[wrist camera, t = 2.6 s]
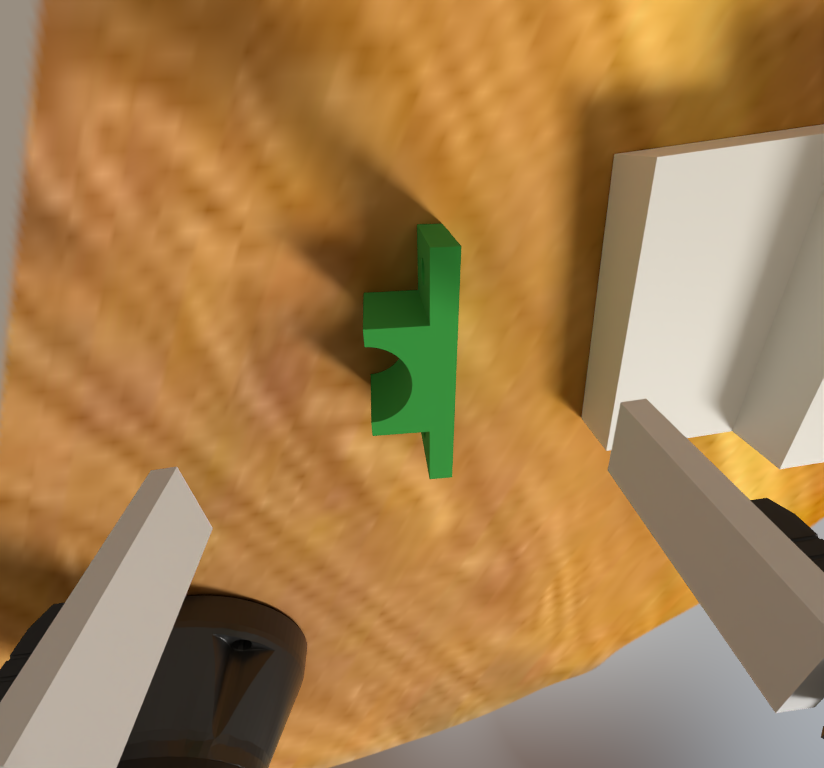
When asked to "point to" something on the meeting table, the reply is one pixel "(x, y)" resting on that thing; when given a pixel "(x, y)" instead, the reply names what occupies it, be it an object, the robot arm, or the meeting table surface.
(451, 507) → the meeting table surface
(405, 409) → the pipe clamp
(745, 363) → the stepped riser
